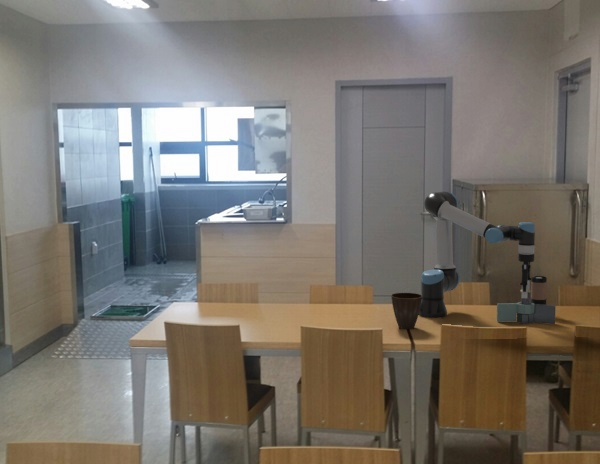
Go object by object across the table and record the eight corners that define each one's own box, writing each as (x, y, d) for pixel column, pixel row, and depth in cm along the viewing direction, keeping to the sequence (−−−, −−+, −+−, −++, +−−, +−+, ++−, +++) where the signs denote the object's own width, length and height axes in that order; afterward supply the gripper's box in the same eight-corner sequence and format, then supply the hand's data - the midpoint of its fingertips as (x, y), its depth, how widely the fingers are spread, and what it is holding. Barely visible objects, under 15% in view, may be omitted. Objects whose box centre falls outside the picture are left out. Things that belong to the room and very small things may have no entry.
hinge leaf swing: (531, 319, 343) (531, 301, 342) (535, 323, 335) (536, 305, 334) (495, 319, 344) (495, 302, 343) (499, 323, 336) (499, 305, 335)
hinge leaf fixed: (516, 322, 337) (516, 304, 336) (517, 319, 345) (518, 301, 344) (554, 325, 330) (555, 307, 329) (555, 322, 338) (555, 303, 337)
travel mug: (547, 316, 350) (547, 278, 348) (531, 316, 352) (532, 278, 350) (544, 313, 358) (545, 276, 356) (529, 312, 359) (530, 275, 357)
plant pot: (418, 323, 339) (418, 292, 338) (424, 330, 324) (425, 298, 323) (389, 324, 339) (389, 292, 337) (393, 331, 324) (393, 298, 322)
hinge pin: (519, 322, 338) (519, 290, 337) (520, 320, 343) (520, 289, 342) (530, 322, 336) (530, 291, 335) (531, 320, 341) (531, 289, 340)
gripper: (532, 256, 323) (531, 300, 325) (536, 250, 346) (535, 291, 348) (516, 256, 326) (515, 299, 328) (520, 250, 349) (520, 290, 351)
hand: (525, 295), depth 338 cm, fingers open, 13 cm apart
